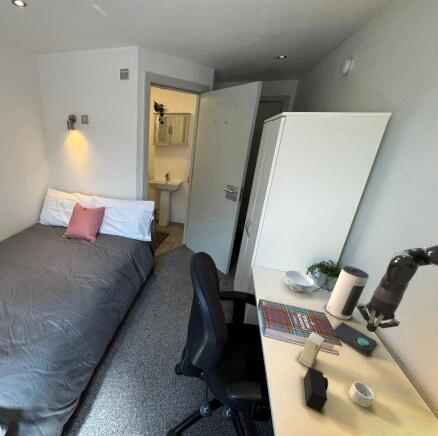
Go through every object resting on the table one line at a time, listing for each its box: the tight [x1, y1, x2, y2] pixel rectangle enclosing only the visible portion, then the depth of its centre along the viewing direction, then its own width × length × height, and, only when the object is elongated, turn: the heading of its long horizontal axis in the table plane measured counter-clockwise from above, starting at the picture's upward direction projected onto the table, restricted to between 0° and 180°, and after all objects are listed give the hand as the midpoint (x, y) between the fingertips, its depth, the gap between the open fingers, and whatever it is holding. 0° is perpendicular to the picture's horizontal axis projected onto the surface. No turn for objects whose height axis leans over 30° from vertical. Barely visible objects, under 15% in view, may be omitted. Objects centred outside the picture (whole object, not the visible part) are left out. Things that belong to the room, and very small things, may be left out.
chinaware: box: [284, 270, 315, 293], centre depth 138 cm, size 15×15×8 cm
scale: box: [333, 321, 377, 357], centre depth 105 cm, size 13×13×3 cm
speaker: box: [325, 265, 370, 321], centre depth 117 cm, size 11×10×26 cm
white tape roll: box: [348, 380, 376, 408], centre depth 80 cm, size 6×6×5 cm
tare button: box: [357, 338, 369, 347], centre depth 100 cm, size 4×4×2 cm
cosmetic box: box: [298, 331, 325, 368], centre depth 92 cm, size 6×4×12 cm
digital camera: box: [303, 367, 329, 413], centre depth 80 cm, size 10×5×7 cm, turn 151°
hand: (369, 330), depth 97 cm, fingers closed
